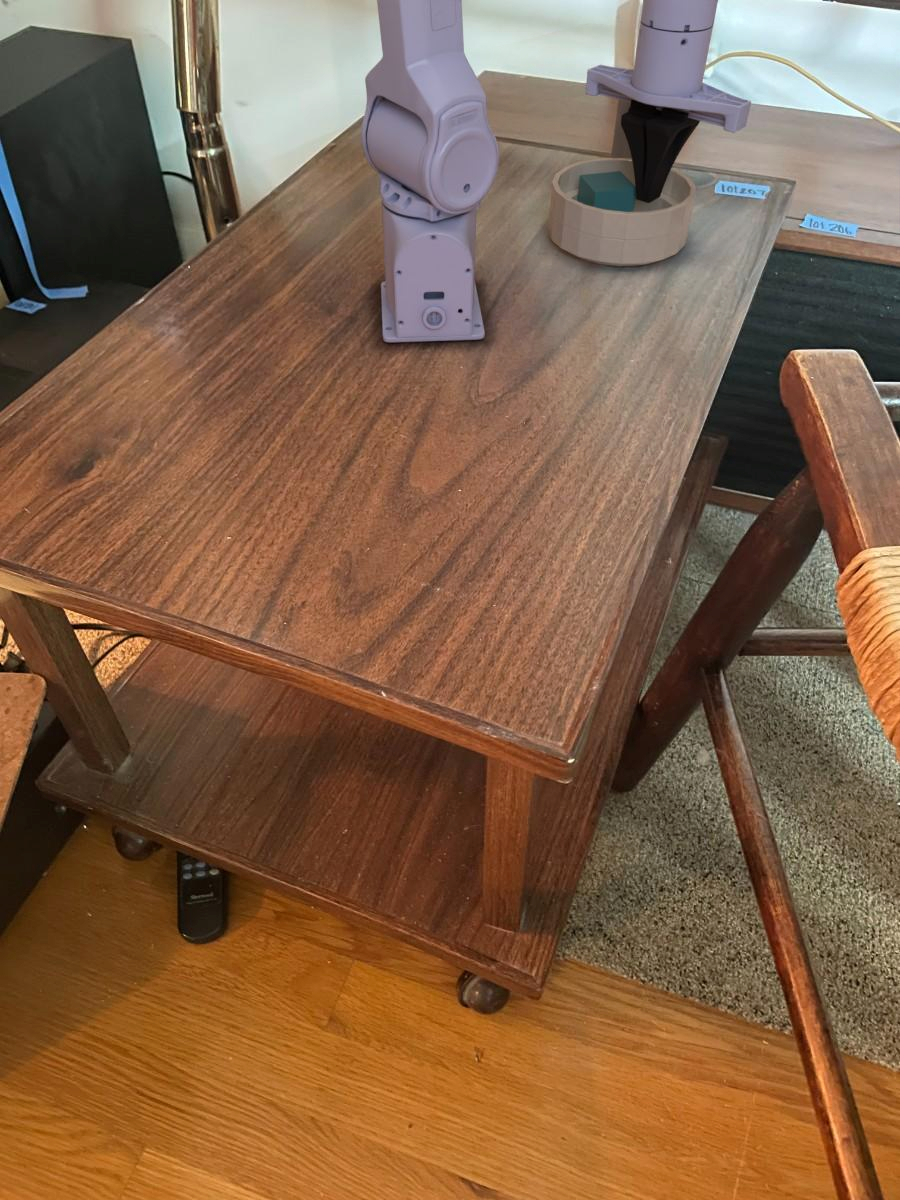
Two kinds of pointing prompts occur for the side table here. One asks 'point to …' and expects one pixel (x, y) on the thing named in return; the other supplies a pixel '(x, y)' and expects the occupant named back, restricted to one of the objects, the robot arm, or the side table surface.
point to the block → (607, 191)
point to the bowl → (620, 218)
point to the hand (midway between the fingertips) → (648, 198)
